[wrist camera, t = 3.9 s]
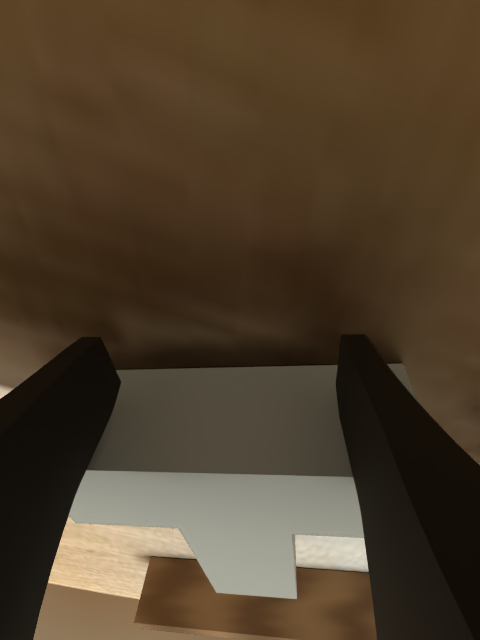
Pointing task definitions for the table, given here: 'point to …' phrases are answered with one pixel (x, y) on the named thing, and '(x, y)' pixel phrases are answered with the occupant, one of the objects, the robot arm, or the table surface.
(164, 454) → the T block
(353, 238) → the table surface
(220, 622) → the bar
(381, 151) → the table surface
